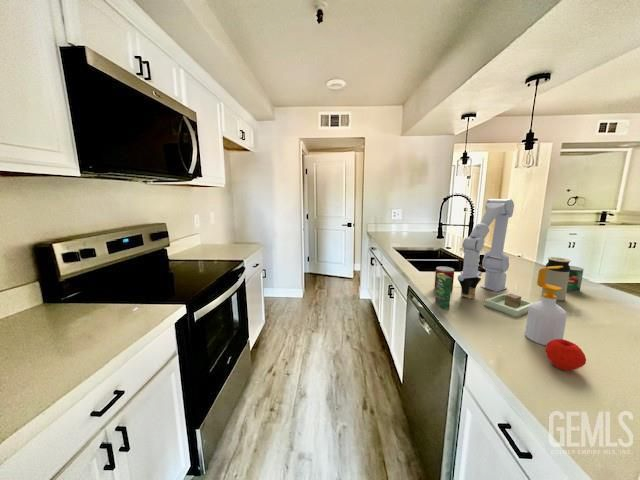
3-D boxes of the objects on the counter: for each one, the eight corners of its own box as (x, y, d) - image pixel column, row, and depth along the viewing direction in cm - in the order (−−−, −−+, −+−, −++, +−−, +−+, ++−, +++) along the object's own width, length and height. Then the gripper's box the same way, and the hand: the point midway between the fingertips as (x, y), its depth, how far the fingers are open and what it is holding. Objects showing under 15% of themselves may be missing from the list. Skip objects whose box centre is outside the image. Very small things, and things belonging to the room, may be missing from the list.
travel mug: (545, 299, 115) (551, 260, 112) (538, 293, 123) (544, 256, 120) (568, 302, 112) (575, 261, 109) (559, 295, 120) (566, 257, 117)
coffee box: (434, 301, 114) (436, 272, 112) (440, 301, 114) (443, 272, 112) (442, 309, 106) (445, 278, 104) (449, 309, 106) (452, 278, 104)
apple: (592, 376, 67) (597, 350, 65) (563, 378, 66) (568, 351, 65) (561, 357, 74) (565, 333, 73) (535, 358, 74) (539, 334, 73)
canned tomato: (577, 288, 129) (581, 267, 127) (582, 293, 123) (586, 270, 121) (556, 285, 133) (559, 264, 131) (559, 290, 127) (563, 268, 125)
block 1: (466, 294, 121) (467, 285, 120) (474, 296, 118) (475, 288, 117) (460, 295, 119) (461, 287, 118) (469, 298, 116) (470, 290, 115)
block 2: (509, 302, 111) (510, 293, 110) (520, 305, 108) (521, 296, 107) (504, 304, 109) (505, 295, 108) (515, 307, 106) (516, 298, 105)
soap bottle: (553, 350, 78) (566, 271, 73) (519, 336, 86) (529, 263, 81) (567, 342, 82) (580, 267, 78) (533, 329, 90) (543, 260, 86)
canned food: (455, 293, 123) (457, 270, 121) (438, 293, 123) (440, 270, 121) (447, 287, 131) (449, 266, 129) (431, 287, 131) (433, 266, 129)
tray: (502, 299, 116) (503, 293, 115) (534, 309, 105) (535, 303, 105) (484, 305, 109) (484, 299, 109) (516, 317, 99) (517, 310, 98)
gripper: (471, 260, 123) (469, 287, 125) (452, 264, 116) (449, 293, 118) (487, 263, 117) (484, 292, 119) (467, 268, 110) (464, 298, 112)
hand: (468, 293), depth 118 cm, fingers closed on block 1, 4 cm apart
